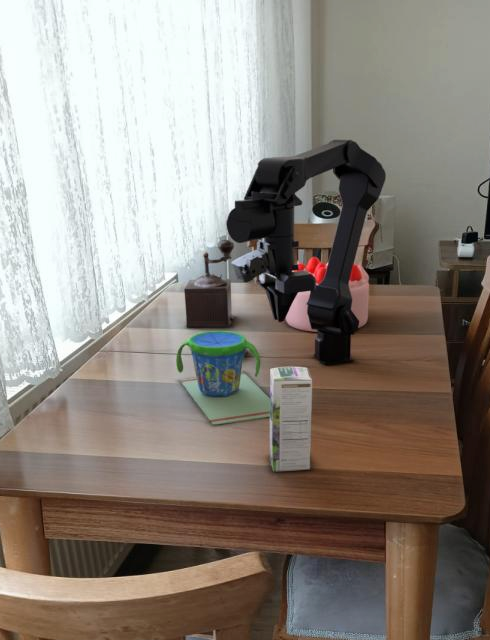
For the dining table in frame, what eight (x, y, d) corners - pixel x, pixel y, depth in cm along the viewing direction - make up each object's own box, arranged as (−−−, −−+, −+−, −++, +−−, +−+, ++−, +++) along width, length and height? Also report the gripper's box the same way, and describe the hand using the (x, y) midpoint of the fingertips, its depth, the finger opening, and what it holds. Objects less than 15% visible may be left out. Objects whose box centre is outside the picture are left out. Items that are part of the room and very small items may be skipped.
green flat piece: (242, 372, 156) (242, 371, 156) (284, 414, 136) (284, 413, 136) (179, 380, 153) (179, 379, 153) (213, 425, 132) (212, 424, 132)
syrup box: (268, 456, 121) (267, 367, 114) (306, 454, 121) (307, 365, 115) (272, 472, 116) (271, 380, 109) (312, 470, 116) (313, 378, 110)
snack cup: (267, 385, 149) (266, 333, 144) (250, 404, 140) (249, 350, 135) (191, 378, 153) (188, 327, 149) (170, 397, 144) (166, 343, 140)
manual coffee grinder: (231, 327, 185) (229, 250, 177) (185, 328, 185) (180, 250, 177) (237, 310, 199) (234, 238, 190) (194, 311, 199) (189, 238, 191)
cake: (278, 331, 181) (278, 269, 175) (293, 309, 198) (293, 252, 192) (363, 335, 177) (365, 271, 171) (371, 312, 194) (373, 253, 188)
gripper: (217, 230, 143) (220, 314, 150) (257, 247, 128) (259, 339, 135) (272, 225, 147) (273, 307, 154) (318, 241, 132) (316, 331, 139)
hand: (278, 320), depth 146 cm, fingers closed
